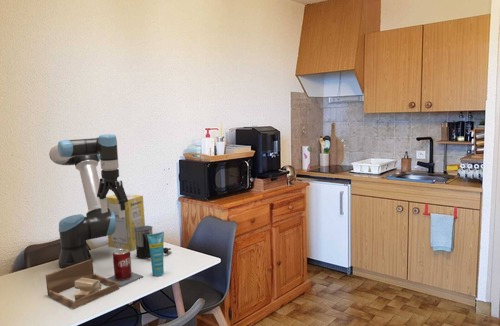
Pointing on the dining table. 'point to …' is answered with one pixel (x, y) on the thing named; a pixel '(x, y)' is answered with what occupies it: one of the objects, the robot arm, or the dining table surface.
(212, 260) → the dining table surface
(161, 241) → the tube
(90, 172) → the robot arm
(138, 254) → the milk frother
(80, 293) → the bottom offcut
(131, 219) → the pasta box
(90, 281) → the top offcut
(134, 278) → the plate
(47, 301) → the dining table surface
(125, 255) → the soda can
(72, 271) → the wooden tray frame
